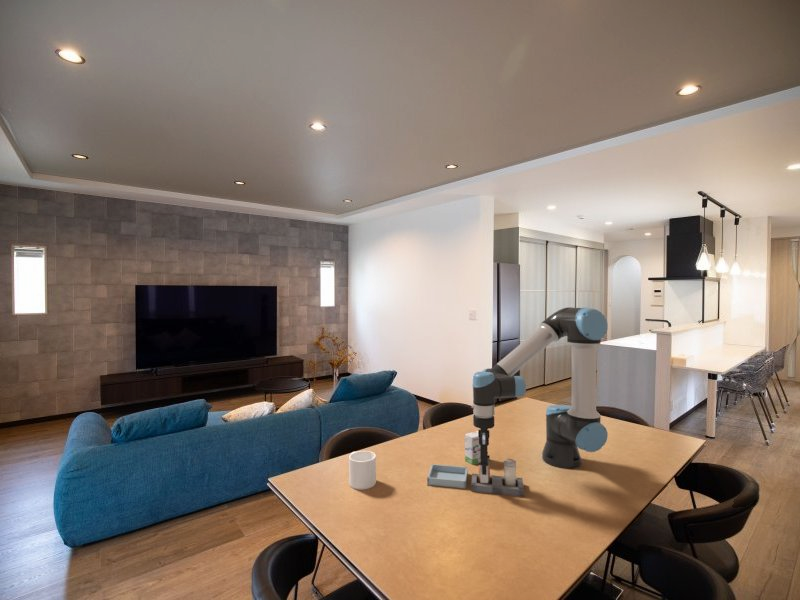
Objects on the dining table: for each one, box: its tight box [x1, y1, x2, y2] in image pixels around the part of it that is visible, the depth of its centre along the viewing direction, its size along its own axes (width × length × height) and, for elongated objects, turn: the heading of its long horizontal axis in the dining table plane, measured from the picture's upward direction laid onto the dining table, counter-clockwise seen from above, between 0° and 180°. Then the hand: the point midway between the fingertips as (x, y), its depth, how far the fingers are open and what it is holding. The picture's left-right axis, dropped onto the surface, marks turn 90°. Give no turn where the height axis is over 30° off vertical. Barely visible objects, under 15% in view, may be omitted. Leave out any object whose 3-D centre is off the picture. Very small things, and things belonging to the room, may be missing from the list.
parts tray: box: [426, 463, 469, 490], centre depth 145 cm, size 14×12×3 cm
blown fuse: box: [477, 457, 491, 484], centre depth 139 cm, size 4×4×10 cm
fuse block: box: [470, 473, 525, 498], centre depth 138 cm, size 18×9×3 cm, turn 77°
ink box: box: [464, 430, 480, 466], centre depth 161 cm, size 8×5×12 cm, turn 120°
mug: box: [348, 450, 377, 491], centre depth 144 cm, size 13×10×10 cm
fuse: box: [503, 458, 517, 487], centre depth 137 cm, size 4×4×10 cm
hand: (484, 479), depth 139 cm, fingers closed on blown fuse, 4 cm apart
